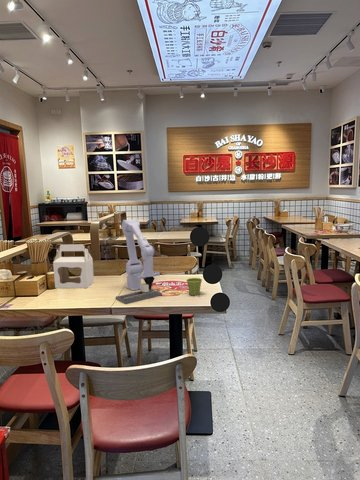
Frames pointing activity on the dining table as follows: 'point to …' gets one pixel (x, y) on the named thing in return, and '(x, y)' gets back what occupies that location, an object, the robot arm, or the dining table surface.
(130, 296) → the fader console
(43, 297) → the dining table surface
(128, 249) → the robot arm
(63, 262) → the gable box
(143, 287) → the fader tab
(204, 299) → the dining table surface
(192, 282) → the plant pot
